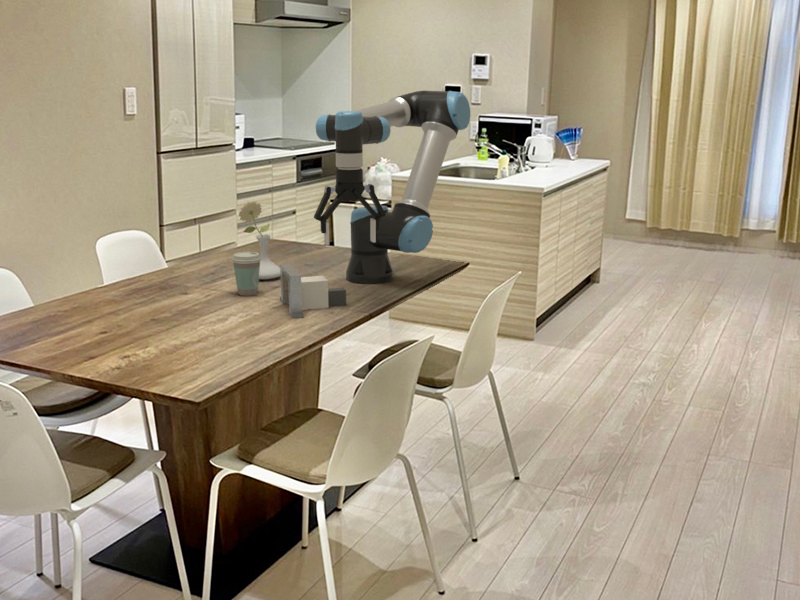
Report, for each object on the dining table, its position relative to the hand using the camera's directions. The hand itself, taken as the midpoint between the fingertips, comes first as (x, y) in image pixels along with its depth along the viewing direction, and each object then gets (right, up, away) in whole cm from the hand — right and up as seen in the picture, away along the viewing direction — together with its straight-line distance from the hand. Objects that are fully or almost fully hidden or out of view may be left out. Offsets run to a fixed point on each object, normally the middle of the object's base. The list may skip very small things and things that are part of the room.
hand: (350, 243), depth 252 cm
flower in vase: (-30, -9, +33) cm, 45 cm away
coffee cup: (-31, -14, +14) cm, 37 cm away
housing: (-16, -18, -2) cm, 25 cm away
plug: (-9, -18, +1) cm, 20 cm away
